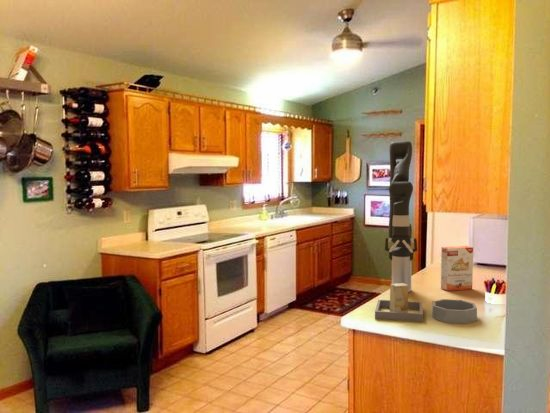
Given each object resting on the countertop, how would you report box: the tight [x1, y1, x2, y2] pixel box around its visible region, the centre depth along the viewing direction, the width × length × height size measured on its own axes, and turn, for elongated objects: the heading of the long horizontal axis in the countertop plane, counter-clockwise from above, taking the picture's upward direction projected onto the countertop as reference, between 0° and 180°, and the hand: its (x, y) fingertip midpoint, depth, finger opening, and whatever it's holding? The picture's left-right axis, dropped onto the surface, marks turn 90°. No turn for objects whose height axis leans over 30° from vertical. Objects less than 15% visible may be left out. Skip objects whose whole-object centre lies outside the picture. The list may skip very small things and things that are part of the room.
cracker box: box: [440, 245, 474, 292], centre depth 231 cm, size 14×6×21 cm, turn 101°
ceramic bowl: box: [431, 298, 478, 325], centre depth 187 cm, size 16×16×5 cm
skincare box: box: [389, 283, 409, 313], centre depth 193 cm, size 6×4×12 cm
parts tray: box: [374, 299, 424, 323], centre depth 193 cm, size 18×18×3 cm
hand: (401, 260), depth 217 cm, fingers open, 8 cm apart
